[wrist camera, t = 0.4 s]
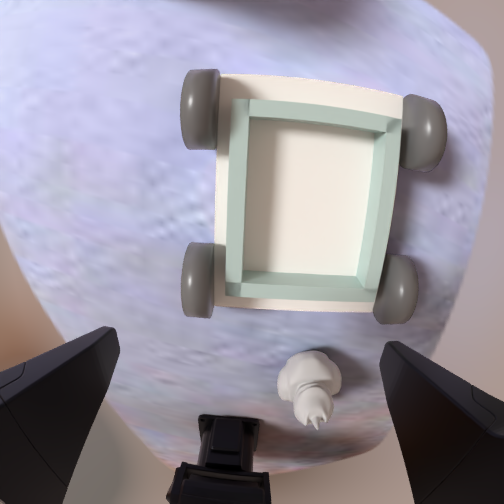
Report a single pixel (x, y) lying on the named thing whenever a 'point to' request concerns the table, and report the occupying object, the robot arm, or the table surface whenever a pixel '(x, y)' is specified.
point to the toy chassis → (304, 193)
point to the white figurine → (310, 386)
